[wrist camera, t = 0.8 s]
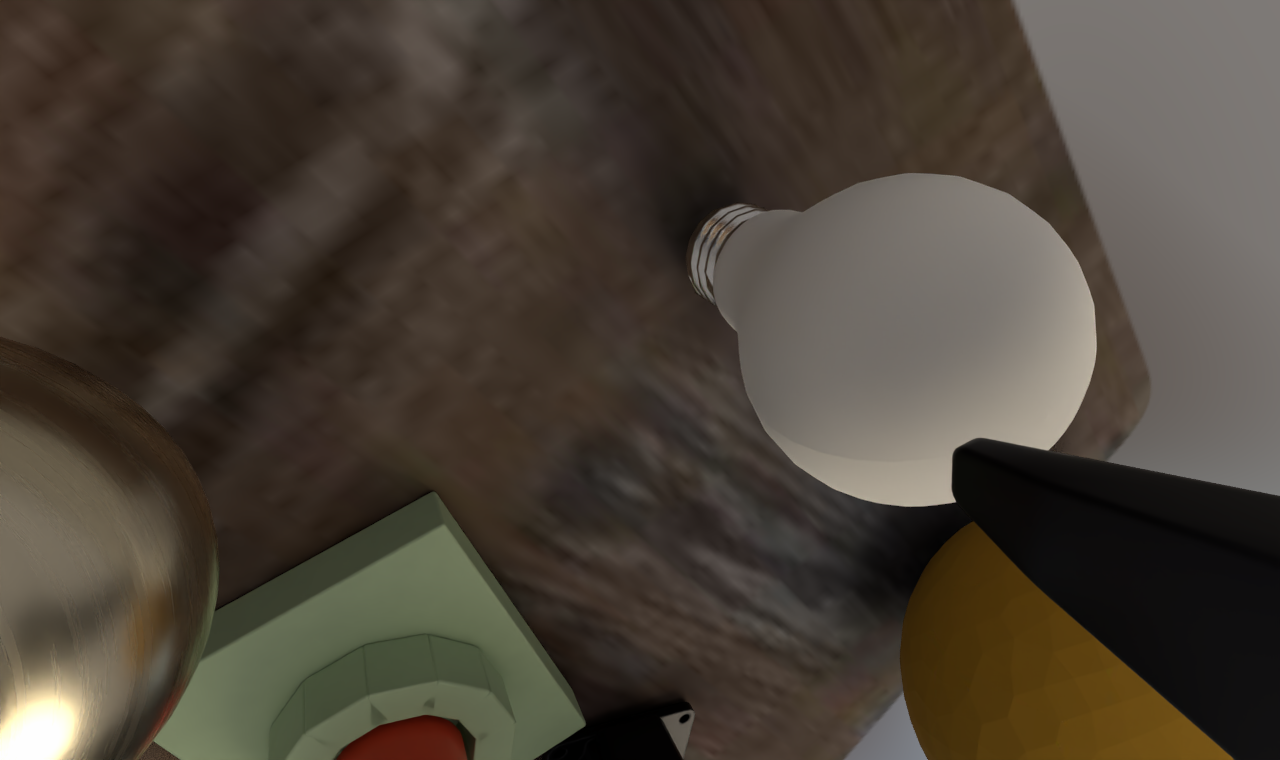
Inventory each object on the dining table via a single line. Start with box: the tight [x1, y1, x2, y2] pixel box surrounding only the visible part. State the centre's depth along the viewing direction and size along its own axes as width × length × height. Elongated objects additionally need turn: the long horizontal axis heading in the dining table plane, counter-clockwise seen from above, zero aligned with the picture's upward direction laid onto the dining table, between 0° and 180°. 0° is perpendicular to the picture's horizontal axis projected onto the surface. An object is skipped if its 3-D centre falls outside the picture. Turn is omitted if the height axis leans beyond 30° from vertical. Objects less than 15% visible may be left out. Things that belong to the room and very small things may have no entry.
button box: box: [153, 491, 586, 760], centre depth 21 cm, size 11×9×4 cm
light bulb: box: [686, 173, 1097, 507], centre depth 16 cm, size 7×7×11 cm
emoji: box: [900, 521, 1234, 760], centre depth 27 cm, size 16×16×15 cm
